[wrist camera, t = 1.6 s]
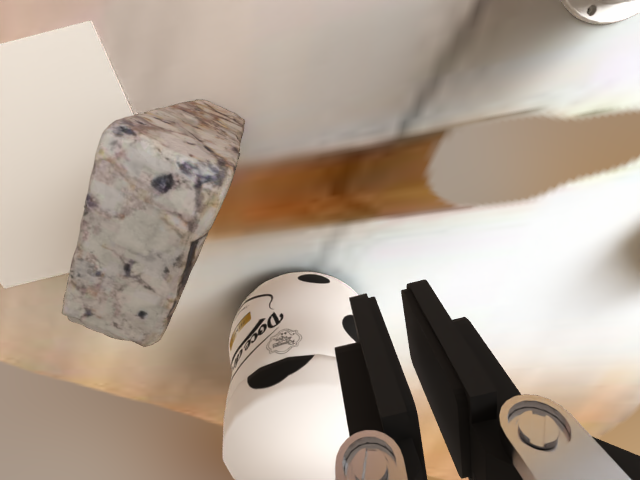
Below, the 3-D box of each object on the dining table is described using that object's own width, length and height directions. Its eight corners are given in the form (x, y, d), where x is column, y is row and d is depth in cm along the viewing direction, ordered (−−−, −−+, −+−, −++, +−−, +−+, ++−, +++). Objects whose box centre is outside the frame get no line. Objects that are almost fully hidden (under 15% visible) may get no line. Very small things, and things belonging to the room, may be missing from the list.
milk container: (221, 269, 43) (183, 396, 27) (364, 251, 43) (411, 365, 27) (247, 373, 51) (230, 518, 35) (369, 357, 51) (407, 492, 35)
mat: (91, 20, 31) (90, 20, 30) (190, 242, 41) (190, 243, 40) (-152, 84, 31) (-155, 84, 31) (6, 287, 41) (4, 288, 41)
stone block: (181, 86, 33) (76, 115, 16) (254, 114, 35) (235, 168, 17) (155, 212, 38) (53, 343, 21) (220, 230, 40) (178, 365, 22)
